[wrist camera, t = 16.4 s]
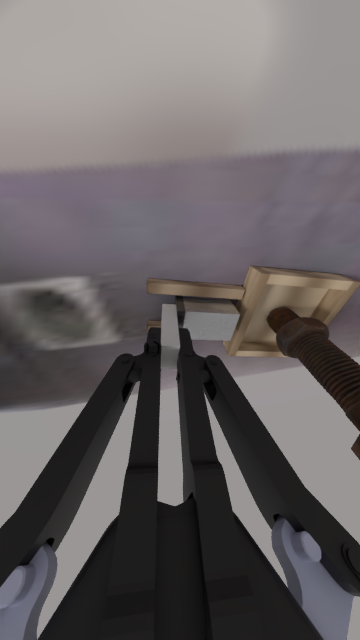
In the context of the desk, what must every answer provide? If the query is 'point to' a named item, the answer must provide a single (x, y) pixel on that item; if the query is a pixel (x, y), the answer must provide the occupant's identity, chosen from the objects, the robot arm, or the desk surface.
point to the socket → (267, 302)
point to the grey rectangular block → (206, 317)
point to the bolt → (320, 359)
